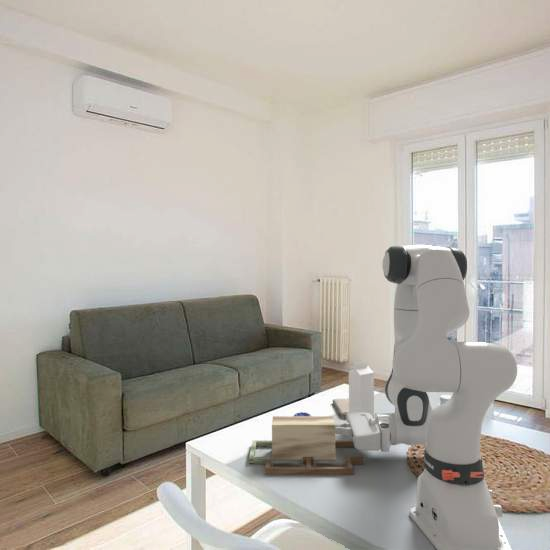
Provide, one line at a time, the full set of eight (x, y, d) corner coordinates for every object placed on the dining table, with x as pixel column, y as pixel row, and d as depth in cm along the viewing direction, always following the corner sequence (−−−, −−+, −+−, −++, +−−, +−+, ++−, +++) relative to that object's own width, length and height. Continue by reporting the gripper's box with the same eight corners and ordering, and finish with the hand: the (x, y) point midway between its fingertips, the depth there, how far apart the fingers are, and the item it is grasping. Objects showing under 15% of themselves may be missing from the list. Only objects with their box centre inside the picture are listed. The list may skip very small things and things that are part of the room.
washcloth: (342, 420, 161) (342, 412, 161) (331, 404, 179) (331, 396, 178) (375, 419, 162) (375, 410, 162) (360, 402, 180) (360, 395, 180)
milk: (348, 426, 154) (348, 361, 154) (362, 422, 157) (361, 359, 157) (360, 432, 149) (359, 365, 148) (374, 428, 152) (373, 363, 151)
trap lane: (367, 474, 120) (367, 469, 120) (247, 474, 121) (246, 468, 121) (357, 445, 139) (357, 440, 139) (252, 445, 140) (252, 440, 140)
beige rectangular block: (335, 459, 129) (335, 425, 129) (272, 459, 130) (271, 425, 130) (333, 449, 136) (333, 416, 136) (273, 449, 137) (272, 416, 136)
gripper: (375, 406, 142) (331, 406, 143) (389, 431, 122) (337, 431, 122) (375, 426, 143) (331, 426, 143) (389, 455, 122) (337, 454, 123)
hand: (334, 429), depth 133 cm, fingers closed, pressing on beige rectangular block
